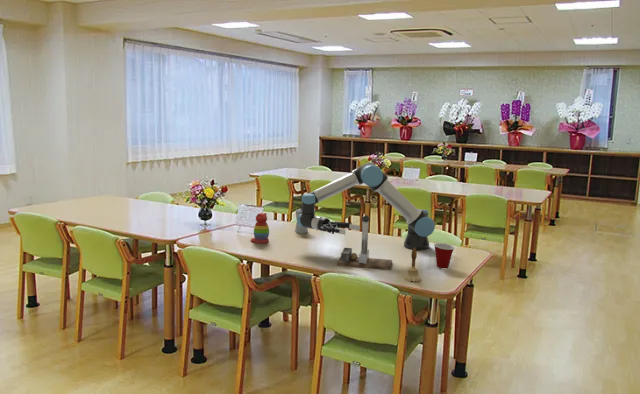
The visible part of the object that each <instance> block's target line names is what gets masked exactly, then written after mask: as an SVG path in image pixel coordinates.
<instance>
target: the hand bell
mask: <svg viewBox="0 0 640 394" xmlns="http://www.w3.org/2000/svg"><path fill="white" fill-rule="evenodd" d="M417 254H418V253H417V250H416V248H413V249H411V267H409V268H408V270H407V274H406V275H405V277H404V278H403V280H404V279H405V281H406V280H407V281H406V282H409V281H413V282H412V283H418V282H417V281H419V282H421V281H422V278H421V277H420V275H419V270H418V268H417V267H416V259H417V256H418V255H417ZM420 280H421V281H420ZM415 281H416V282H415Z"/></svg>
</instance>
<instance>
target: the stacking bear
mask: <svg viewBox="0 0 640 394" xmlns="http://www.w3.org/2000/svg"><path fill="white" fill-rule="evenodd" d="M255 220H256V222H255V224H254V227H253V236H254V237H252V238H250V242H251V243H254V244H260V245H263V244H268V243H270V241H269V235H270V227H269V224H268V222H267V221H268V216H267V213H265V212H264V213H263V212H262V213H258V214H256V216H255Z"/></svg>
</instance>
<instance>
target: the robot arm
mask: <svg viewBox="0 0 640 394" xmlns="http://www.w3.org/2000/svg"><path fill="white" fill-rule="evenodd" d="M363 184H364V185H366V186H367V187H368V188H369V189H370V190H372V191H373V192H377V193H378V194H379V195H380V196H381V197H383V198H384V200H386V201H387V203H388V204H389V205H391V206H392V207H393V208H394V209H395V210H396V211H397V212H398V213H399V215H401V216H402V218H404V219H405V220H406V224H407V234H406V237H405V239H404V241H403V242H404V243H403V247H404V248H406V249H410V250H413V248H416V251H417V250H419V251H422V250H428V249H430V241H429V238H428V237H429V236H431V235H432V234H433V233H434V231H435V229H436V225H435V224H436V223H435V221H434V219H433V218H432V217H430V216H429V210H428V209H422V208H417V207H416V206H415V205H414V204H413V203H411V202H410V201H409V200H408V198H406V196H404V195H403V193H402V192H400V191H399V190H398V189H397V187H395V186H394V185H393V184H392V183H391V182H390V181H389V177H388V175H387V174H386V173H385V172H383V170H382V169H381V168H380V167H379V166H378V165H376V164H375V163H371V162H367V163H364V164H362V165H360V166H359V167H357V168H355V169H353V170H351V172H350V173H349V174H346V175H344V176H342V177H340V178H338V179H336V180H334V181H331V182H330V183H327V184H325V185H323V186H321V187H319V188H317V189H315V190H313V191H310V192H307V193H304V194H302V196H301V205H302V214H300V215H299V216H298V219H296V223H298V225H299V226H302V227H305V228H308V229H312V230H316V231H317V232H318V231H320V232H321V231H322V232H326V233H329V234H332V235H335V234H339V235H344V236H345V235H346V229H349V230H355V231H360V229H361V225H358V224H353V223H352V222H351V221H350V222H345V221H344V222H342V221H331V220H330V218H327V217H322V216H316V211H315V210H316V205H317V204H318V203H320V202H323V201H325V200H327V199H329V198H331V197H333V196H336V195H338V194H340V193H342V192H344V191H346V190H348V189H351V188H354V187H355V186H356V185H358V186H362V185H363Z"/></svg>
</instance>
